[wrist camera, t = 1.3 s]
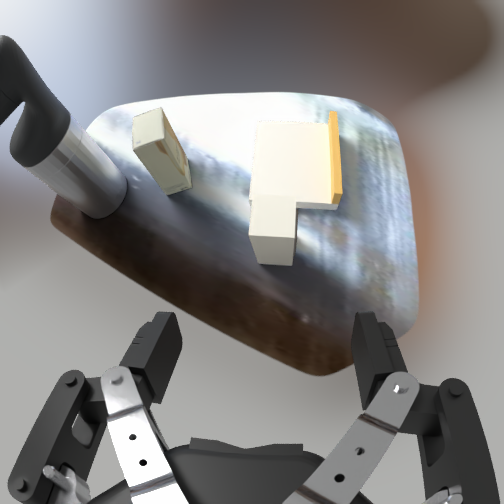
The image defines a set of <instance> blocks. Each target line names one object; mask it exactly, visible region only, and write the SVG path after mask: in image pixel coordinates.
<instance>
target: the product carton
mask: <svg viewBox="0 0 504 504" xmlns="http://www.w3.org/2000/svg"><path fill="white" fill-rule="evenodd" d="M297 224H298V209H296V196H281V195H256V194H253V196H252V206H251V216H250V226H249V238H250V241H251V244H252V247H253V249H254V252H255V255H256V258H257V261H258V264H271V265H287V266H292V263H293V256H295V252H296V243H297Z"/></svg>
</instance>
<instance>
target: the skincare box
mask: <svg viewBox="0 0 504 504" xmlns="http://www.w3.org/2000/svg"><path fill="white" fill-rule="evenodd" d="M132 146H133V148H132V149H133V151H134V152H135V154H136V155H137V156H138V158H139V159H140V161H141V162H142V163H143V165H144V166H145V167H146V169H147V170H148V171H149V173H150V174H151V175H152V177H153V178H154V179H155V181H156V182H157V183H158V185H159V186H160V187H161V189H162V190H163V191H164V193H165V194H166V195H170V194H173V193H177V192H180V191H183V190H186V189H189V188H191V187H192V183H191V175H190V169H189V164H188V159H187V156H186V154H185V152H184V150H183V149H182V147H181V145H180V143H179V141H178V139H177V137H176V135H175V133H174V131H173V129H172V127H171V125H170V123H169V121H168V119H167V117H166V116H165V114H164V112H163V110H162V108H161V107H160V108H157V109H154V110H151V111H148V112H146V113H143V114H140V115H138V116H135V117H133V124H132Z"/></svg>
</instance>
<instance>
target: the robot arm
mask: <svg viewBox="0 0 504 504" xmlns="http://www.w3.org/2000/svg"><path fill="white" fill-rule="evenodd" d="M22 102H25V106H24V110H23V113H22V115H21V117H20V119H19V122H18V124H17V125H16V128H15V130H14V132H13V135H12V137H11V142H10V153H11V155H12V157H13V158H14V159H15V160H16V161H17V162H18V163H19V164H21V165H22V166H23V167H24V168H26V169H27V170H28V171H29V172H31V173H32V174H33V175H35V176H36V177H37V178H39V179H40V180H41V181H43V182H44V183H45V184H46V185H48V187H49V188H51V189H52V190H53V191H55V192H56V193H57V194H59V195H60V196H61V197H63V198H64V199H65V200H67V201H68V202H69V203H71V204H72V205H73V206H75V207H76V208H77V209H79V210H80V211H82V212H84V213H85V214H87V215H88V216H90V217H91V218H94V219H100V218H104V217H106V216H108V215H110V214H111V213H113V212H114V211H115V210H116V209H117V208H118V207H119V206H120V204H121V203H122V201H123V199H124V197H125V194H126V191H127V181H126V178H125V176H124V174H123V173H122V172H121V171H120V170H119V169H118V168H117V167H116V166H115V164H114V163H113V162H112V161H111V160H110V159H109V158H108V156H107V155H106V154H105V153H104V152H103V151H102V150H101V149H100V147H99V146H98V145H97V144H96V143H95V142H94V141H93V139H92V138H91V137H90V136H89V135H88V134H87V132H86V131H85V130H84V129H83V128H82V127H81V126H80V124H79V123H78V122H77V121H76V120H75V119H74V117H73V116H72V115H71V114H70V113H69V112H68V110H67V109H66V108H65V107H64V106H63V105H62V104H61V102H60V101H59V100H58V99H57V98H56V97H55V96H54V94H53V93H52V92H51V91H50V89H49V88H48V87H47V86H46V84H45V83H44V81H43V80H42V79H41V77H40V76H39V74H38V73H37V71H36V70H35V68H34V67H33V65H32V64H31V62H30V61H29V59H28V58H27V56H26V55H25V53H24V52H23V51H22V49H21V48H20V47H19V46H18V45H17V43H16V42H15V41H14V40H12V39H11V38H10V37H8V36H5V35H1V36H0V125H1V124H2V123H3V122H4V121H5V120H6V119H7V118H8V116H9V115H10V114H11V113H12V112H13V111H14V110H15V109H16V108H17V107H18V106H19V105H20V104H21V103H22ZM351 348H352V355H353V360H354V365H355V369H356V375H357V380H358V386H359V391H360V396H361V402H362V408H363V410H366V411H365V412H364V414H363V415H362V414H361V415H360V416H359V417H358V418H357V419H356V421H355V422H354V423H353V425H352V426H351V428H350V429H349V430H348V431H347V433H346V434H345V435H344V437H343V438H342V439H341V440H340V442H339V443H338V444H337V446H336V447H335V448H334V449H333V451H332V452H331V453H330V454H329V455H328V457H327V458H326V459H324V458H323V457H321V456H319V455H317V454H314V453H311V452H307V451H303V444H272V445H266V446H261V447H255V448H249V449H243V448H239V447H236V446H233V445H230V444H227V443H223V442H220V441H217V440H208V439H199V438H191V441H190V444H188V445H182V446H178V447H175V448H172V449H169V447H168V446H167V444H166V442H165V440H164V438H163V436H162V434H161V432H160V430H159V428H158V425H157V423H156V421H155V419H154V417H153V414H152V412H151V410H150V406H151V403H158V404H161V402H162V399H163V396H164V394H165V391H166V389H167V386H168V383H169V381H170V378H171V376H172V373H173V370H174V368H175V365H176V363H177V360H178V358H179V355H180V352H181V350H182V336H181V333H180V329H179V325H178V322H177V318H176V315H175V313H174V312H157V313H156V315H155V317H154V319H153V320H152V322H147V323H146V324H144V325H143V326H142V327H141V328H140V329H139V331H138V332H137V334H136V336H135V338H134V340H133V341H132V344H131V345H130V346H129V348H128V350H127V352H126V353H125V355H124V357H123V359H122V361H121V362H120V364H119V366H115V367H112V368H110V369H108V370H107V371H105V373H104V374H103V375H102V377H96V378H85V376H84V374H83V373H82V372H80V371H79V370H71V371H68V372H66V373H64V374H63V375H62V376H61V377H60V379H59V380H58V382H57V384H56V385H55V387H54V389H53V391H52V392H51V394H50V396H49V398H48V400H47V401H46V403H45V405H44V407H43V409H42V411H41V413H40V414H39V416H38V418H37V420H36V422H35V424H34V426H33V428H32V430H31V432H30V434H29V436H28V438H27V440H26V442H25V444H24V446H23V448H22V450H21V452H20V454H19V456H18V459H17V461H16V463H15V465H14V467H13V470H12V472H11V474H10V477H9V479H8V489H9V492H10V494H11V495H12V497H14V498H15V499H16V500H18V501H19V502H21V503H23V504H373V503H372V502H371V501H370V500H369V499H367V497H365V496H364V495H363V494H362V493H361V492H360V491H359V490H360V489H361V488H362V486H363V485H364V483H365V482H366V481H367V479H368V478H369V476H370V475H371V474H372V472H373V471H374V469H375V468H376V466H377V465H378V463H379V462H380V460H381V459H382V457H383V455H384V454H385V452H386V451H387V449H388V447H389V446H390V444H391V442H392V441H393V439H394V437H395V436H396V434H397V432H400V433H408V434H416V435H417V439H418V445H419V451H420V457H421V464H422V471H423V479H424V488H425V497H426V501H425V502H424V503H422V504H500V499H499V493H498V488H497V483H496V478H495V473H494V469H493V465H492V461H491V457H490V453H489V449H488V445H487V441H486V438H485V435H484V431H483V428H482V425H481V422H480V419H479V415H478V412H477V409H476V407H475V404H474V401H473V398H472V396H471V392H470V390H469V388H468V386H467V385H466V384H465V383H464V382H463V381H461V380H459V379H456V378H450V379H446V380H445V381H443V382H442V383H441V385H440V386H431V385H424V384H420V383H419V382H418V380H417V379H416V378H415V377H414V376H413V375H411V374H409V373H408V371H407V369H406V366H405V363H404V360H403V357H402V355H401V352H400V349H399V347H398V344H397V341H396V340H395V336H394V333H393V330H392V329H391V328H390V327H389V326H388V325H387V324H386V323H385V322H379V323H378V322H377V319H376V316H375V313H374V312H373V311H369V312H357V313H356V316H355V322H354V328H353V334H352V341H351ZM77 414H79V415H78V417H77V419H76V421H75V424H74V426H73V428H72V425H73V423H74V420H75V418H76V416H77ZM107 423H108V426H109V430H110V433H111V436H112V439H113V443H114V446H115V449H116V452H117V454H118V458H119V460H120V463H121V466H122V469H123V471H124V474H125V477H126V479H124V480H123V481H121V482H119V483H118V484H116V485H115V486H113V487H111V488H110V489H108V490H107V491H105V492H103V493H102V494H100V495H98V496H97V497H95V498H93V499H92V500H91V497H90V495H89V494H90V490H89V486H88V484H87V483H86V481H87V478H88V475H89V472H90V469H91V466H92V463H93V461H94V458H95V455H96V452H97V450H98V447H99V444H100V441H101V439H102V436H103V434H104V431H105V428H106V426H107Z"/></svg>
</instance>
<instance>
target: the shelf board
mask: <svg viewBox="0 0 504 504" xmlns="http://www.w3.org/2000/svg"><path fill="white" fill-rule="evenodd" d="M253 194H256V195H281V196H296V208H307V209H323V210H337V208H338V205H339V202H340V199H341V196H342V175H341V158H340V144H339V131H338V120H337V112H334V111H330V114H329V121H328V124H324V123H308V122H285V121H257V130H256V139H255V148H254V157H253V166H252V175H251V184H250V194H249V202H250V206H252V196H253Z"/></svg>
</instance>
